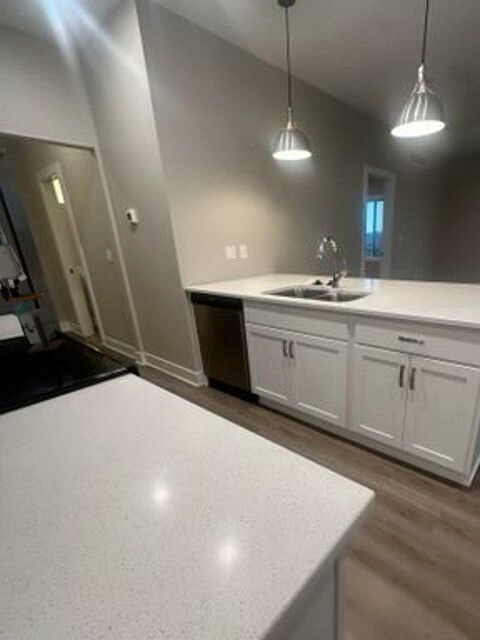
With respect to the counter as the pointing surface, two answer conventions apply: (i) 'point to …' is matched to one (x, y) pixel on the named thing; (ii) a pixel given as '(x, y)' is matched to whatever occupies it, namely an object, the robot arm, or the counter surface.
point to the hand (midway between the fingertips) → (12, 299)
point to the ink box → (30, 326)
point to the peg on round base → (43, 339)
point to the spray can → (21, 309)
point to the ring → (26, 297)
